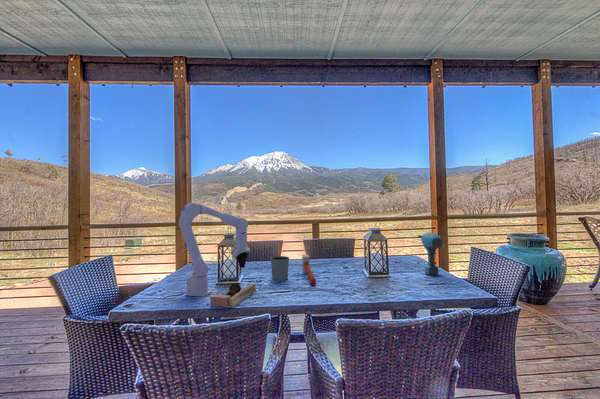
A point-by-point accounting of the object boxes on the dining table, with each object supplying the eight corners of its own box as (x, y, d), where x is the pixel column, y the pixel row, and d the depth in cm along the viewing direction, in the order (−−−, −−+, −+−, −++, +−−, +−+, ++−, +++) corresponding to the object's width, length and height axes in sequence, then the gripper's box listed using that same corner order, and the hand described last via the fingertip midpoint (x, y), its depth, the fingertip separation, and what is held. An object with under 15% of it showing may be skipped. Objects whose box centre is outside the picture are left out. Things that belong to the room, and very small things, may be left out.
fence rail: (228, 307, 128) (228, 299, 128) (251, 290, 150) (251, 283, 150) (232, 307, 127) (232, 299, 127) (255, 290, 149) (255, 283, 149)
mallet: (316, 274, 155) (307, 253, 184) (310, 274, 154) (302, 254, 183) (316, 293, 156) (308, 270, 186) (310, 294, 156) (302, 270, 185)
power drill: (412, 266, 190) (411, 229, 189) (426, 266, 189) (425, 229, 189) (430, 279, 162) (429, 235, 161) (447, 278, 161) (446, 235, 161)
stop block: (210, 306, 130) (210, 296, 130) (214, 303, 133) (214, 294, 133) (227, 307, 128) (227, 298, 128) (231, 304, 131) (230, 295, 131)
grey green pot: (267, 279, 169) (267, 257, 169) (281, 275, 176) (281, 255, 176) (278, 283, 161) (278, 260, 161) (293, 279, 168) (292, 257, 168)
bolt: (227, 308, 132) (234, 295, 147) (237, 302, 132) (243, 290, 147) (220, 297, 132) (227, 285, 147) (230, 291, 132) (236, 280, 147)
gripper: (242, 243, 148) (242, 271, 149) (254, 239, 162) (255, 264, 163) (229, 243, 150) (229, 270, 151) (242, 238, 164) (243, 264, 165)
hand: (242, 267), depth 157 cm, fingers closed
